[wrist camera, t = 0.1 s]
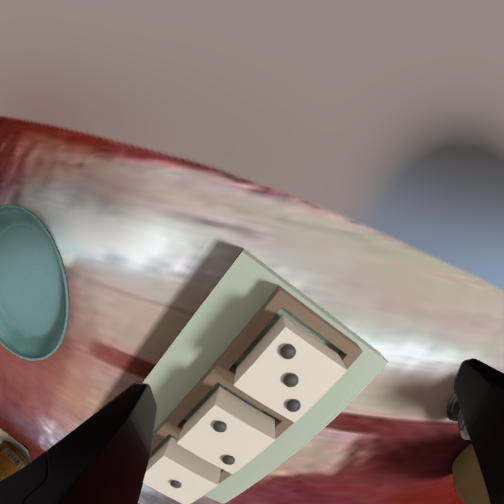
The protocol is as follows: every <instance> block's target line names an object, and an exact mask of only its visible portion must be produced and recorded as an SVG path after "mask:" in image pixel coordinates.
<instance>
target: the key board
mask: <svg viewBox="0 0 504 504" xmlns="http://www.w3.org/2000/svg"><path fill="white" fill-rule="evenodd" d="M282 314H284V315H285V316H286V317H288V318H289V319H290V320H292V321H293V322H294V323H296V324H297V325H299V326H300V327H301V328H303V329H304V330H305V331H307V332H308V333H310V334H311V335H312V336H314V337H315V338H317V339H318V340H319V341H321V342H322V343H323V344H325V345H326V346H328V347H329V348H330V349H332V350H333V351H335V352H336V353H337V354H339V356H340V358H341V360H342V362H343V363H344V365H345V367H346V369H347V371H346V372H345V374H344V375H343V376H342V377H341V378H340V379H339V380H338V381H337V382H336V383H335V384H334V385H333V386H332V387H331V388H330V389H329V390H328V391H327V392H326V393H325V394H324V395H323V396H322V397H321V398H320V399H319V400H318V401H317V402H316V403H315V404H314V405H313V406H312V407H311V408H310V409H309V410H308V411H307V412H306V413H305V414H304V415H303V416H302V417H301V418H300V419H299V420H298V421H296V422H295V423H294V422H293V421H291V420H289V419H287V418H286V417H284V416H282V415H280V414H279V413H277V412H275V411H274V410H272V409H270V408H269V407H267V406H265V405H264V404H262V403H260V402H259V401H257V400H255V399H254V398H252V397H251V396H249V395H247V394H246V393H244V392H243V391H241V390H240V389H238V388H237V387H235V386H234V379H235V374H236V368H237V367H238V365H239V364H240V363H241V362H242V361H243V360H244V359H245V358H246V356H247V355H248V354H249V353H250V352H251V351H252V350H253V348H254V347H255V346H256V345H257V344H258V343H259V341H260V340H261V339H262V338H263V337H264V336H265V334H266V333H267V332H268V331H269V330H270V329H271V327H272V326H273V325H274V324H275V323H276V321H277V320H278V319H279V318H280V317H281V315H282ZM387 363H388V361H387V360H386V359H385V358H384V357H383V356H382V354H381V353H380V352H379V351H377V350H376V349H375V348H373V347H372V346H371V345H370V344H368V343H367V342H366V341H364V340H363V339H362V338H360V337H359V336H358V335H356V334H355V333H354V332H353V331H351V330H350V329H349V328H347V327H346V326H345V325H343V324H342V323H341V322H339V321H338V320H337V319H335V318H334V317H333V316H332V315H330V314H329V313H328V312H326V311H325V310H324V309H322V308H321V307H320V306H318V305H317V304H316V303H315V302H313V301H312V300H311V299H309V298H308V297H307V296H305V295H304V294H303V293H301V292H300V291H299V290H298V289H296V288H295V287H294V286H292V285H291V284H290V283H288V282H287V281H286V280H284V279H283V278H282V277H281V276H279V275H278V274H277V273H275V272H274V271H273V270H271V269H270V268H269V267H267V266H266V265H265V264H264V263H262V262H261V261H260V260H258V259H257V258H256V257H254V256H253V255H252V254H251V253H249V252H248V251H247V250H245V249H244V250H243V251H242V252H241V254H240V255H239V256H238V257H237V259H236V260H235V261H234V263H233V264H232V265H231V267H230V268H229V269H228V271H227V272H226V273H225V274H224V276H223V277H222V278H221V280H220V281H219V282H218V284H217V285H216V286H215V288H214V289H213V290H212V291H211V293H210V294H209V295H208V297H207V298H206V299H205V301H204V302H203V303H202V305H201V306H200V307H199V309H198V310H197V311H196V312H195V314H194V315H193V316H192V318H191V319H190V320H189V322H188V323H187V324H186V326H185V327H184V328H183V330H182V331H181V332H180V334H179V335H178V336H177V338H176V339H175V340H174V342H173V343H172V344H171V346H170V347H169V348H168V349H167V351H166V352H165V353H164V355H163V356H162V357H161V359H160V360H159V361H158V363H157V364H156V365H155V367H154V368H153V369H152V371H151V372H150V373H149V375H148V376H147V377H146V379H145V380H144V381H143V383H147V384H149V385H150V387H151V390H152V392H153V395H154V398H155V401H156V404H157V413H156V419H155V426H154V432H153V439H152V446H151V452H150V458H151V457H152V456H153V455H154V454H155V453H156V452H157V451H158V450H159V449H160V448H161V447H162V446H163V445H164V444H165V443H166V442H167V441H168V440H169V439H170V438H171V437H173V438H175V439H176V440H178V438H179V436H180V433H181V431H182V428H183V425H184V424H185V423H186V422H187V421H188V419H189V418H190V417H191V416H192V415H193V414H194V413H195V412H196V411H197V410H198V409H199V408H200V407H201V406H202V405H203V404H204V403H205V402H206V401H207V399H208V398H209V397H210V396H211V395H212V394H213V393H214V392H215V391H216V390H217V389H218V388H219V387H220V386H221V387H222V388H224V389H225V390H227V391H228V392H230V393H231V394H233V395H235V396H236V397H238V398H239V399H241V400H242V401H244V402H246V403H247V404H249V405H251V406H252V407H254V408H255V409H257V410H259V411H260V412H262V413H264V414H266V415H267V416H269V417H271V418H272V419H274V420H275V438H276V440H275V441H274V442H273V443H272V444H270V445H269V446H268V447H267V448H266V449H265V450H263V451H262V452H261V453H260V454H258V455H257V456H256V457H255V458H254V459H252V460H251V461H250V462H248V463H247V464H246V465H245V466H243V467H242V468H241V469H239V470H238V471H237V472H236V473H234V474H231V473H229V472H227V471H225V470H223V469H221V472H220V478H219V484H218V486H216V487H215V488H214V489H212V490H211V491H209V492H208V493H206V494H205V495H204V496H207V497H209V498H211V499H213V500H215V501H217V502H220V503H222V504H225V503H226V502H228V501H230V500H231V499H233V498H234V497H236V496H237V495H239V494H240V493H242V492H243V491H245V490H246V489H248V488H249V487H251V486H252V485H254V484H255V483H256V482H258V481H259V480H261V479H262V478H263V477H265V476H266V475H267V474H269V473H270V472H271V471H273V470H274V469H275V468H277V467H278V466H279V465H281V464H282V463H283V462H284V461H286V460H287V459H288V458H290V457H291V456H292V455H293V454H294V453H296V452H297V451H298V450H299V449H301V448H302V447H303V446H304V445H305V444H306V443H308V442H309V441H310V440H311V439H312V438H313V437H315V436H316V435H317V434H318V433H319V432H320V431H321V430H322V429H324V428H325V427H326V426H327V425H328V424H329V423H330V422H331V421H332V420H333V419H334V418H335V417H336V416H338V415H339V414H340V413H341V412H342V411H343V410H344V409H345V408H346V407H347V406H348V405H349V404H350V403H351V402H352V401H353V400H354V399H355V398H356V397H357V396H358V395H359V394H360V393H361V392H362V391H363V389H364V388H365V387H366V386H367V385H368V384H369V383H370V382H371V381H372V380H373V379H374V378H375V377H376V376H377V374H378V373H379V372H380V371H381V370H382V369H383V368H384V367H385V365H386V364H387ZM150 458H149V459H150Z"/></svg>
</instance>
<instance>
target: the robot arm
mask: <svg viewBox="0 0 504 504" xmlns="http://www.w3.org/2000/svg"><path fill="white" fill-rule="evenodd" d="M454 389H455V392H456V395H457V399H458V402H459V406H460V409H461V413H462V416H463V420H464V423H465V427H466V429H467V432H468V435H469V438H470V440H471V443H472V446H473V449H474V452H475V454H476V457H477V460H478V463H479V466H480V469H481V473H482V476H483V479H484V482H485V486H486V489H487V493H488V496H489V500H490V504H504V373H502V372H500V371H498V370H496V369H494V368H492V367H490V366H488V365H486V364H485V363H483V362H481V361H479V360H477V359H469V360H465V361H463V362H462V364H461V366H460V368H459V371H458V373H457V376H456V378H455V380H454ZM156 413H157V404H156V401H155V398H154V395H153V392H152V390H151V387H150V385H149V384H147V383H137V382H136V383H133V384H132V385H131V386H129V387H128V388H127V389H126V390H124V391H123V392H122V393H121V394H119V395H118V396H117V397H115V398H114V399H113V400H112V401H110V402H109V403H108V404H107V405H105V406H104V407H103V408H102V409H100V410H99V411H98V412H96V413H95V414H94V415H93V416H91V417H90V418H89V419H87V420H86V421H85V422H84V423H82V424H81V425H80V426H78V427H77V428H76V429H75V430H73V431H72V432H71V433H69V434H68V435H67V436H65V437H64V438H63V439H62V440H60V441H59V442H58V443H56V444H55V445H54V446H52V447H51V448H50V449H48V450H47V452H44V453H43V454H41V455H40V456H39V457H37V458H36V459H35V460H33V461H32V462H30V463H29V464H28V465H26V466H25V467H23V468H21V469H20V470H18V471H17V472H15V473H13V474H12V475H10V476H8V477H6V478H4V479H3V480H1V481H0V504H138V500H139V496H140V492H141V488H142V484H143V480H144V477H145V473H146V469H147V466H148V462H149V458H150V452H151V446H152V439H153V432H154V426H155V419H156Z"/></svg>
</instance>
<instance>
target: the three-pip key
mask: <svg viewBox="0 0 504 504" xmlns="http://www.w3.org/2000/svg"><path fill="white" fill-rule="evenodd" d="M346 371H347V369H346V367H345V365H344V363H343V362H342V360H341V358H340V356H339V354H337V353H336V352H335V351H333V350H332V349H330V348H329V347H328V346H326V345H325V344H323V343H322V342H321V341H319V340H318V339H317V338H315V337H314V336H312V335H311V334H310V333H308V332H307V331H305V330H304V329H303V328H301V327H300V326H299V325H297V324H296V323H294V322H293V321H292V320H290V319H289V318H288V317H286V316H285V315H284V314H282V315H281V317H280V318H279V319H278V320H277V321H276V323H275V324H274V325H273V326H272V327H271V329H270V330H269V331H268V332H267V333H266V334H265V336H264V337H263V338H262V339H261V340H260V341H259V343H258V344H257V345H256V346H255V347H254V348H253V350H252V351H251V352H250V353H249V354H248V355H247V356H246V358H245V359H244V360H243V361H242V362H241V363H240V364H239V365H238V367H237V368H236V374H235V379H234V386H235V387H237V388H238V389H240V390H241V391H243V392H244V393H246V394H247V395H249V396H251V397H252V398H254V399H255V400H257V401H259V402H260V403H262V404H264V405H265V406H267V407H269V408H270V409H272V410H274V411H275V412H277V413H279V414H280V415H282V416H284V417H286V418H287V419H289V420H291V421H293V422H294V423H295V422H296V421H298V420H299V419H300V418H301V417H302V416H303V415H304V414H305V413H306V412H307V411H308V410H309V409H310V408H311V407H312V406H313V405H314V404H315V403H316V402H317V401H318V400H319V399H320V398H321V397H322V396H323V395H324V394H325V393H326V392H327V391H328V390H329V389H330V388H331V387H332V386H333V385H334V384H335V383H336V382H337V381H338V380H339V379H340V378H341V377H342V376H343V375H344V374H345V372H346Z"/></svg>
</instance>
